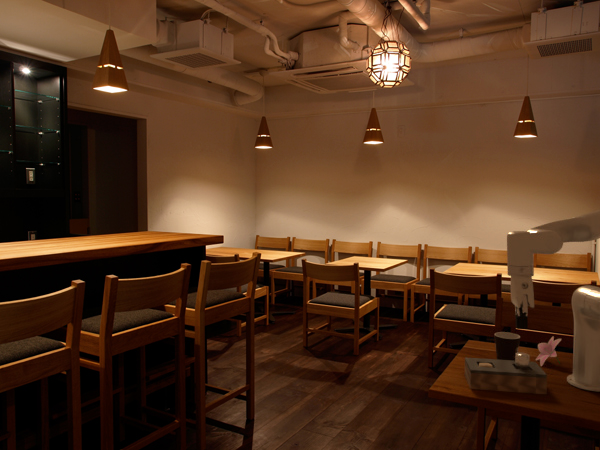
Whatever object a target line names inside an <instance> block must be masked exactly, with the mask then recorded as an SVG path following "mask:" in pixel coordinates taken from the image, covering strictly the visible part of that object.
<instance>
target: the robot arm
mask: <svg viewBox="0 0 600 450" xmlns="http://www.w3.org/2000/svg"><path fill="white" fill-rule="evenodd" d="M599 239H600V209H598V210H597V209H596V210H595V211H592V212H588V213H585V214H584V213H583V214H581V215H577V216H576V215H575V216H573V217H569V218H565V219H564V218H563V219H559V220H556V221H552V222H548V223H545V224H541V225H537V226H535V227H532V228H530V229H528V230H527V231H525V230H519V231H518V230H517V231H516V230H514V231H509V232H508V233H507V235H506V256H507V257H506V258H507V259H506V260H507V261H506V264H507V265H506V267H507V276H508V277H509V276H510V301H511V303H512V304H513V305H514V309H515V310H514V311H515V312H514V313H515V316H514V317H515V328H516V329H519V330H520V329H521V330H524V329H525V330H528V328H529V327H528V326H529V323H528V320H529V319H528V316H529V315H528V313H529V312H528V307H529V308H531V309H534V308H535V295H534V294H535V293H534V284H533V282H534V281H533V277H534V275H535V272H534V271H535V268H534V266H535V265H534V264H535V263H534V258H535V257H534V254H538V255H554V254H557V253H558V252H560V251H561V249H562V248H563V246H564V243H565V244H566V243H581V242H582V243H585V242H591V241H596V240H599ZM571 309H572V314H573V350H572V351H573V353H572V354H573V355H572V373H571V374H569V375H567V376H566V382H568V384H570V385H571V386H573V387H576V388H577V389H582V390H586V391H591V392H598V393H599V392H600V287H599V286H595V285H590V284H589V285H581V286H579V287H578V288H576V289H575V290H574V291H573V293H572V296H571Z"/></svg>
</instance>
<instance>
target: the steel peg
mask: <svg viewBox="0 0 600 450" xmlns="http://www.w3.org/2000/svg"><path fill="white" fill-rule="evenodd" d="M529 361H530V354H528V353H527V352H526V353H525V352H519V351H518V353H516V357H515V369H522V370H529Z"/></svg>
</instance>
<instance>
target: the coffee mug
mask: <svg viewBox="0 0 600 450" xmlns="http://www.w3.org/2000/svg"><path fill="white" fill-rule="evenodd" d="M520 341H521V336H520V335H519V334H517V333H513V332H508V331H507V332H505V331H500V332H498V331H497V332H495V333H494V343H495V344H494V345H495V355H496V359H497V360H514V361H515V357H516V353H519V348H520Z"/></svg>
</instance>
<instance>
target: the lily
mask: <svg viewBox="0 0 600 450" xmlns="http://www.w3.org/2000/svg"><path fill="white" fill-rule="evenodd" d="M554 338H555V337H554V336H552V337H551V338H550V339H549V340H548V342H541V343H540V342H539V343H538V344H537V349H538V352H540V353H539V354H538V356H537V357H536V358H535V361H539V366H540V367H542V366H543V365H544V364H545V362H546V360H547V359H548V358H556V360H557V361H558V364H561V362H560V361H559V359H558V357H557V356H558V354H557V352H556V349H555V348H556V347H557V345H559V343H560V342H561V341H562V338H557V339H555V340H554Z"/></svg>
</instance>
